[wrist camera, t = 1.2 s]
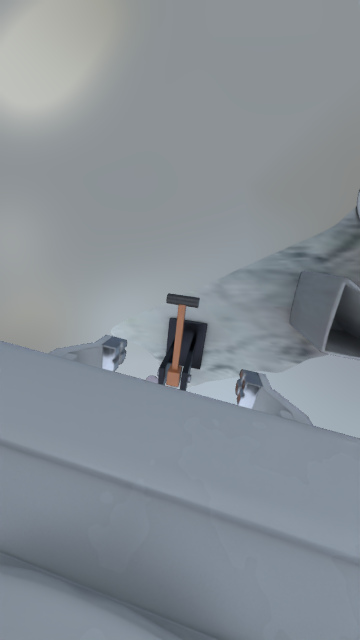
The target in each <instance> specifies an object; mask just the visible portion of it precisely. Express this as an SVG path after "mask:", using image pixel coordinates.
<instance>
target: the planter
mask: <svg viewBox="0 0 360 640" xmlns="http://www.w3.org/2000/svg"><path fill="white" fill-rule="evenodd" d="M290 324H291V325H292V326H293V327H294V328H295V329H296V330H298V331H299V332H300V333H301V334H302V335H303V336H304V337H305V338H306V339H308V340H309V341H310V342H311V343H312V344H313V345H314V346H315V347H316V348H318V349H319V350H320V351H321V352H323V353H327V354H331V355H335V356H340V357H344V358H350V359H355V360H360V288H359V287H358V286H357V285H356V284H355V283H353V282H352V281H351V280H350V279H348V278H345V277H340V276H335V275H328V274H321V273H315V272H308V271H302V272H301V275H300V279H299V282H298V286H297V289H296V293H295V297H294V301H293V306H292V310H291V316H290Z"/></svg>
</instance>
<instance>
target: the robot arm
mask: <svg viewBox="0 0 360 640" xmlns="http://www.w3.org/2000/svg"><path fill="white" fill-rule="evenodd" d="M357 211H358V215H359V218H360V190H359V194H358V199H357ZM126 346H127V340H124V339H121V338H117V337H113V336H110V335H105V336H104V337H102V338H101V339H99V340H98V341H96V342H95V343H87V344H81V345H76V346H70V347H64V348H58V349H55V350H53V351H52V352H50V353H48V354H47V353H43V352H40V351H36V350H32V349H29V348H25V347H21V346H18V345H14V344H10V343H7V342H3V341H0V640H360V438H356V437H352V436H349V435H345V434H342V433H338V432H334V431H330V430H327V429H323V428H320V427H316V426H313V424H312V423H311V421H310V419H309V418H308V416H307V415H306V414H304V413H303V412H302V411H300V410H299V409H298V408H297V407H295V406H294V405H293V404H291V403H290V402H289V401H288V400H287V399H285V398H284V397H283V396H281V395H280V394H279V393H278V392H277V391H275V390H273V389H272V388H271V386H270V383H269V381H268V379H267V377H266V375H265V374H260V373H257V372H252V371H248V370H243V369H242V370H241V371H240V374H239V375H240V379H239V380H237V383H236V389H235V391H236V395H237V396H238V397H237V404H238V405H235V404H231V403H227V402H223V401H220V400H216V399H213V398H209V397H205V396H202V395H198V394H194V393H190V392H187V391H183V390H180V389H176V388H172V387H169V386H165V385H161V384H158V383H154V382H150V381H147V380H143V379H139V378H135V377H132V376H128V375H124V374H121V373H117V372H115V370H116V369H117V368H118V365H119V364H122V363H123V361H124V359H125V356H126V350H125V347H126Z"/></svg>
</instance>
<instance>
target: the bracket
mask: <svg viewBox="0 0 360 640" xmlns="http://www.w3.org/2000/svg"><path fill="white" fill-rule="evenodd" d="M176 325H177V319H176V318H170V320H169V331H168V341H167V352H166V356H165V358H164V360H163V362H162V364H161V365H160V367H159V370H158V374H157V376H159V378H158V384H161V385H165V383H166V381H167V372H168V369H169V367H170V365H172V361H173V352H174V343H175V334H176ZM206 330H207V324H206V323H200V322H194V321H188V320H184V328H183V336H182V344H181V352H180V360H179V365H180V366H184V368H183V371H182V377H181V385H180V390H183V391H186V388H187V383H190V380H191V375H190V370H191V368H195V369H200V366H201V360H202V354H203V348H204V342H205V336H206Z"/></svg>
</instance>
